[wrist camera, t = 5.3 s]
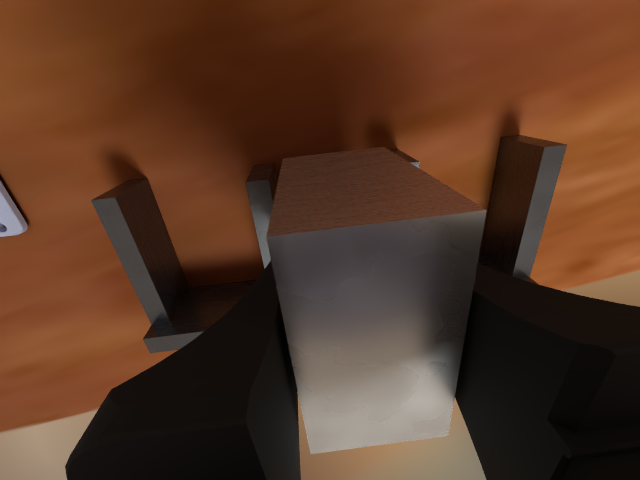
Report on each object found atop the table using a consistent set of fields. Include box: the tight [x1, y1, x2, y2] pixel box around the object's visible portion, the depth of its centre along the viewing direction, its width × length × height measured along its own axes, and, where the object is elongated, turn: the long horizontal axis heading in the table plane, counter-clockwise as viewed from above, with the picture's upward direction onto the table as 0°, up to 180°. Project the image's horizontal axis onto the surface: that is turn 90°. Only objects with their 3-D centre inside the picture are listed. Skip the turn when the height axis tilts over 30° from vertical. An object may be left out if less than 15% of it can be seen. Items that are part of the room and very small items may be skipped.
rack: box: [91, 135, 567, 353], centre depth 15 cm, size 20×8×5 cm, turn 96°
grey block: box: [266, 147, 487, 454], centre depth 10 cm, size 4×7×7 cm, turn 6°
